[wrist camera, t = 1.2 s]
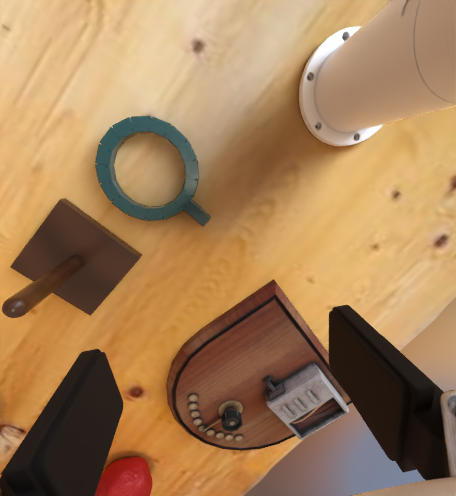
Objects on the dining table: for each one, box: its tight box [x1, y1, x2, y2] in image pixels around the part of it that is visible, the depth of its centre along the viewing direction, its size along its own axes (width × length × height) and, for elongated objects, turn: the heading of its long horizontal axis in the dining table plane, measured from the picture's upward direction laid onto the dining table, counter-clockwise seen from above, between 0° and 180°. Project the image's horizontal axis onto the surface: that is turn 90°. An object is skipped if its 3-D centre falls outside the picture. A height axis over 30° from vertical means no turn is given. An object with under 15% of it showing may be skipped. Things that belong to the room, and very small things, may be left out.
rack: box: [2, 199, 142, 318], centre depth 27 cm, size 12×12×13 cm
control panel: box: [167, 280, 352, 450], centre depth 42 cm, size 31×5×30 cm
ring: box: [95, 116, 211, 226], centre depth 31 cm, size 12×16×2 cm
